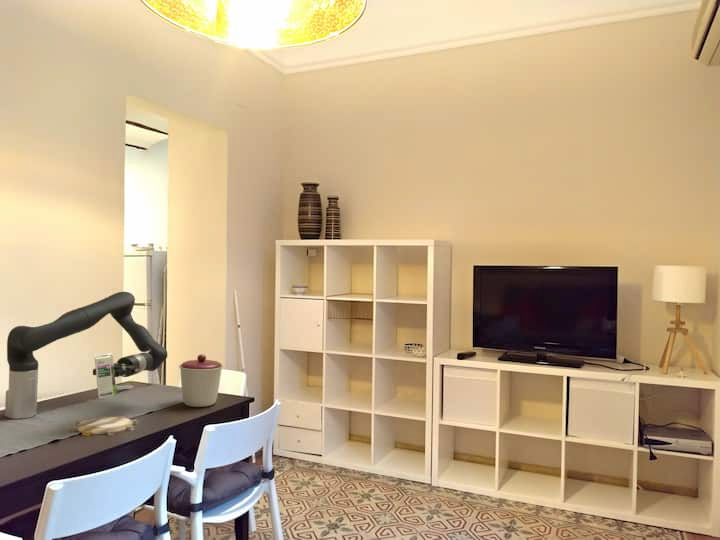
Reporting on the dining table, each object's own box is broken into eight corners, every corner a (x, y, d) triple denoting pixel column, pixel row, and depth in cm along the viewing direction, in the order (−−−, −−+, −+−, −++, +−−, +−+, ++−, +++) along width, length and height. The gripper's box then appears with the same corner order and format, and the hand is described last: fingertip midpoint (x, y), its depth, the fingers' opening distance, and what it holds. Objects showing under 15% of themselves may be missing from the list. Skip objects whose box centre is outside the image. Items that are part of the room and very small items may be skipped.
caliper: (106, 398, 238) (107, 383, 238) (104, 397, 238) (105, 383, 238) (134, 388, 258) (134, 374, 258) (131, 387, 258) (132, 374, 258)
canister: (174, 400, 237) (176, 351, 237) (217, 398, 245) (219, 350, 245) (180, 411, 221) (182, 358, 221) (225, 408, 229) (227, 357, 229)
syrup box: (98, 399, 192) (95, 358, 190) (97, 393, 198) (94, 354, 195) (116, 395, 195) (113, 356, 193) (115, 390, 200) (111, 352, 198)
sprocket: (56, 432, 188) (56, 428, 188) (97, 416, 209) (98, 412, 209) (113, 438, 184) (113, 435, 184) (149, 421, 205) (150, 418, 205)
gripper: (115, 354, 212) (86, 361, 196) (148, 356, 209) (123, 364, 193) (114, 373, 212) (86, 382, 196) (148, 376, 210) (122, 385, 194)
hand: (104, 373), depth 195 cm, fingers closed on syrup box, 8 cm apart
